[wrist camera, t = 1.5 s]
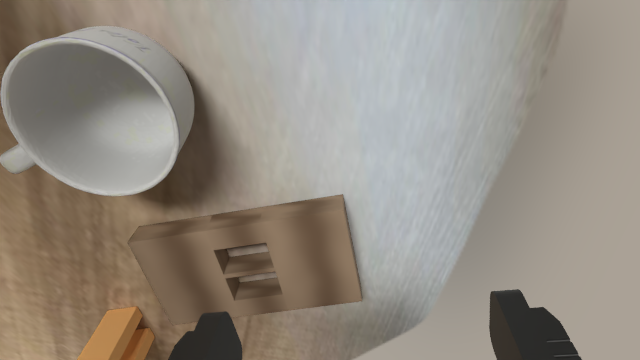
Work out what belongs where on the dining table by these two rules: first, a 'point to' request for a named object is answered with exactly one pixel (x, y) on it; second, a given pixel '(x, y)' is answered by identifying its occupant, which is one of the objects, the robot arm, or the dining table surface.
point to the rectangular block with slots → (251, 260)
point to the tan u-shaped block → (119, 337)
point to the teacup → (97, 110)
